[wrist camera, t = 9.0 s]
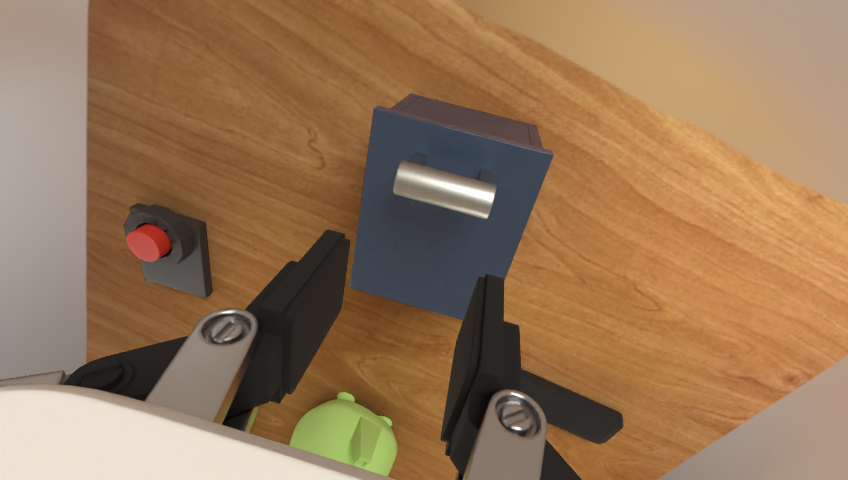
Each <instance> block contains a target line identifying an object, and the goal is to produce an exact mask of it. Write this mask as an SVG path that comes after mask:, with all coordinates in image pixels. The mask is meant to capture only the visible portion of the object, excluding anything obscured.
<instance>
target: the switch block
mask: <svg viewBox="0 0 848 480" xmlns="http://www.w3.org/2000/svg"><path fill="white" fill-rule="evenodd" d="M130 212H131V214H130V215H129V216H128V218H127V220H126V222H125V224H124V228H125V233H126V237H127V236H128V234H129V233H130V232H132V231H134V230H136V229H138V228H139V227H141V226H143V225H145V224H152V225H155V226H157V227H159V228H160V229H161V230H163V231H164V232H165V233H166V235H167V236H168V238H169V239H170V241H171V249H170V251H169V252H168V253H166V254H165V255H163V256H162V257H161V258H159V259H158V260H156V261H152V262H149V261H145V260H142V259H140V260H141V265H142V269H143V274H144V279H145V280H147V281H150V282H153V283H157V284H160V285H164V286H167V287H170V288H174V289H177V290H181V291H184V292H187V293H191V294H194V295H197V296H201V297H204V298H207V297H208V296H209V295H210V294H211V293H212V284H211V274H210V264H209V253H208V243H207V233H206V223H205V222H203V221H200V220H196V219H193V218H189V217H186V216H182V215H179V214H175V213H174V212H172V211H171V210H170V209H168V208H164V207H161V206H157V205H151V206H147V205H143V204H140V203H137V204H135V205H133V206H131V207H130Z"/></svg>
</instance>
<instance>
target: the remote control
mask: <svg viewBox="0 0 848 480" xmlns="http://www.w3.org/2000/svg"><path fill="white" fill-rule="evenodd" d="M521 383H522V393H524V394H526V395H527V396H529V397H531V398H532V399H533V400H534V401H535V402H536V403H537V404H538V405H539V406H540V408H541V409H542V410H543V412H544V414H545V417H546V420H547V422H548V423H550V424H552V425H554V426H557V427H559V428H561V429H564V430H566V431H568V432H570V433H573V434H575V435H577V436H580V437H582V438H584V439H586V440H589V441H591V442H593V443H597V444H602V443H605V442H606V441H608V440H609V439H610V438H611V437H612V436H614V435H615V434H616V433H617V432H618V431H619V430H621V429H622V427H623V418H622V414H621V413H619V412H617V411H615V410H613V409H611V408H608V407H606V406H604V405H602V404H599V403H597V402H595V401H592V400H590V399H588V398H586V397H583V396H581V395H579V394H577V393H574V392H572V391H570V390H568V389H565V388H563V387H561V386H558V385H556V384H554V383H552V382H549V381H547V380H545V379H543V378H540V377H538V376H536V375H534V374H531V373H529V372H527V371H524V370H522V369H521Z"/></svg>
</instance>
